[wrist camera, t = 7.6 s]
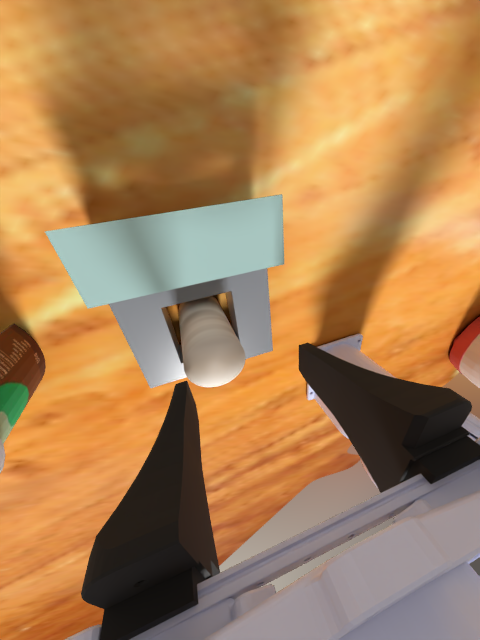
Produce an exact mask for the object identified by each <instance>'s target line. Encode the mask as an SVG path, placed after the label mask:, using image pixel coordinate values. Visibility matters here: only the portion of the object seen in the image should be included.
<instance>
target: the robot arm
mask: <svg viewBox="0 0 480 640" xmlns="http://www.w3.org/2000/svg"><path fill="white" fill-rule="evenodd" d="M362 338H363V336H362V335H361V334H356V335H353V336H350V337H346V338H343V339H340V340H337V341H334V342H331V343H328V344H324V345H321V346H318V347H315V346H313V345H311V344H309V343H305V344H302V345H299V370H300V372H301V374H302V375H303V377H304V378H305V380H306V382H307V399H308V400H312V399H315V400H316V401H317V403H318V404H319V405H320V406H321V408H322V409H323V410H324V412H325V413H326V414H327V416H328V417H329V418H330V419H331V421H332V422H333V423H334V425H335V426H336V427H337V429H338V430H339V431H340V432H341V433H342V434H343V435H344V436H345V437H347V438H348V439H350V441H351V443H352V444H353V446H354V447H355V449H356V451H357V452H358V454H359V456H360V458H361V462H362V465H363V467H364V469H365V471H366V473H367V474H368V476H369V477H370V479H371V480H372V481H373V483H374V484H375V485H376V487H377V488H378V489H379V491H380V492H381V493H380V494H378V495H376V496H374V497H372V498H370V499H368V500H366V501H364V502H362V503H360V504H358V505H356V506H354V507H352V508H350V509H348V510H346V511H344V512H342V513H340V514H338V515H336V516H334V517H332V518H330V519H328V520H326V521H324V522H322V523H320V524H318V525H316V526H314V527H312V528H310V529H308V530H306V531H303V532H301V533H300V534H297V535H295V536H293V537H292V538H289V539H287V540H285V541H283V542H281V543H279V544H277V545H275V546H273V547H272V548H269V549H267V550H265V551H263V552H261V553H259V554H257V555H255V556H253V557H251V558H249V559H247V560H245V561H243V562H241V563H239V564H237V565H235V566H233V567H231V568H229V569H227V570H225V571H223V572H221V573H220V570H219V565H218V560H217V554H216V549H215V543H214V538H213V532H212V526H211V521H210V515H209V509H208V503H207V497H206V491H205V484H204V478H203V471H202V463H201V448H200V433H199V420H198V414H197V409H196V404H195V401H194V398H193V396H192V393H191V390H190V388H189V385H188V382H187V381H184V382H181V383H178V384H176V385H175V388H174V392H173V396H172V399H171V403H170V406H169V409H168V412H167V415H166V417H165V420H164V423H163V425H162V427H161V430H160V432H159V435H158V437H157V439H156V441H155V443H154V446H153V448H152V450H151V452H150V454H149V456H148V457H147V459H146V461H145V463H144V465H143V467H142V468H141V470H140V472H139V474H138V475H137V477H136V479H135V480H134V482H133V483H132V485H131V487H130V488H129V490H128V491H127V493H126V494H125V496H124V498H123V499H122V501H121V502H120V504H119V505H118V507H117V508H116V510H115V511H114V512H113V514H112V515H111V517H110V518H109V519H108V521H107V522H106V524H105V525H104V526H103V528H102V529H101V531H100V532H99V533H98V535H97V536H96V539H95V542H94V545H93V548H92V551H91V554H90V558H89V561H88V566H87V570H86V574H85V579H84V583H83V587H82V592H81V595H82V598H83V600H84V601H86V602H87V603H89V604H92V605H95V606H97V607H100V608H103V609H104V615H103V621H102V625H96V626H92V627H90V628H87V629H85V630H83V631H81V632H79V633H77V634H75V635H73V636H71V637H69V638H67V639H65V640H480V577H479V576H478V575H477V573H476V572H475V571H474V570H473V569H472V567H471V566H470V565H469V564H470V563H471V562H473V561H474V560H476V559H477V558H479V557H480V419H479V418H477V417H476V416H474V415H473V414H471V413H470V411H471V408H472V405H471V402H470V401H468V400H467V399H465V398H463V397H462V396H460V395H459V394H457V393H456V392H454V391H453V390H451V389H449V388H442V387H436V386H430V385H424V384H419V383H414V382H410V381H405V380H401V379H397V378H396V377H394V376H393V375H392V374H390V373H389V372H388V371H386V370H385V369H383V368H382V367H381V366H379V365H378V364H377V363H375V362H374V361H373V360H371V359H370V358H369V357H367V356H366V355H365V354H363V353H362V352H361V351H360V348H361V343H362ZM396 515H397V516H396ZM394 516H396V517H394ZM392 517H394V518H393V524H392V525H390V526H388V527H387V528H385V529H383V530H381V531H379V532H377V533H375V534H374V535H372V536H370V537H368V538H366V539H364V540H362V541H360V542H359V543H357V544H355V545H353V546H351V547H349V548H347V549H346V550H344V551H342V552H341V553H339V554H338V555H336V556H334V557H332V558H331V559H329V560H328V561H326V562H324V563H323V564H321V565H320V566H318V567H316V568H315V569H313V570H312V571H310V572H308V573H307V574H305V575H304V576H302V577H301V578H299V579H298V580H296V581H294V582H293V583H291V584H290V585H288V586H287V587H285V588H283V589H282V590H280V591H279V592H277V593H276V591H275V587H274V585H272V584H269V585H266V586H263V585H265V584H267V583H269V582H271V581H273V580H275V579H277V578H278V577H280V576H282V575H284V574H286V573H288V572H290V571H292V570H294V569H296V568H297V567H299V566H301V565H303V564H305V563H307V562H309V561H311V560H312V559H314V558H316V557H318V556H320V555H322V554H324V553H326V552H328V551H330V550H332V549H333V548H335V547H337V546H339V545H341V544H343V543H345V542H347V541H349V540H351V539H352V538H354V537H356V536H358V535H360V534H362V533H364V532H366V531H368V530H369V529H371V528H373V527H375V526H377V525H379V524H381V523H383V522H385V521H386V520H388V519H390V518H392ZM261 586H263V587H261Z"/></svg>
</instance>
